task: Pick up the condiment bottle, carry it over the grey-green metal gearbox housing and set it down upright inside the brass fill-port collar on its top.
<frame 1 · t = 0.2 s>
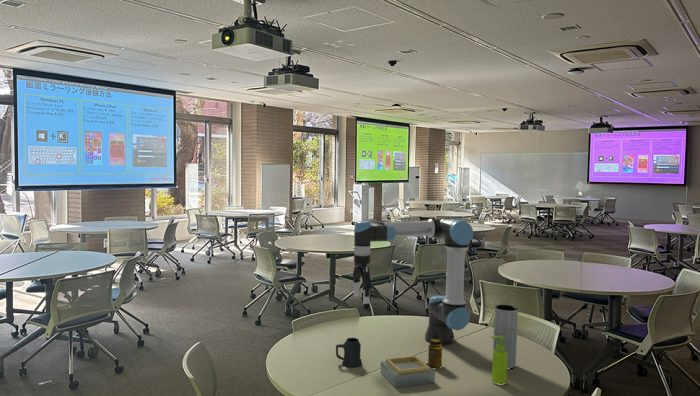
hand: (361, 299, 246), 28 cm above the table, fingers open, 13 cm apart
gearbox: (407, 377, 225), on the table
vase: (504, 365, 242), on the table
mug: (348, 364, 240), on the table
soap dispenser: (497, 383, 222), on the table
condiment: (433, 366, 239), on the table
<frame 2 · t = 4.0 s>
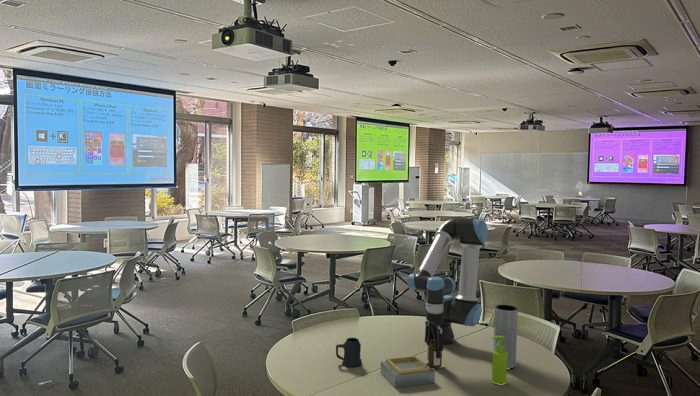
hand: (433, 361, 239), 2 cm above the table, fingers closed on condiment, 6 cm apart
condiment: (433, 366, 239), on the table, touching gripper
everything else where it was.
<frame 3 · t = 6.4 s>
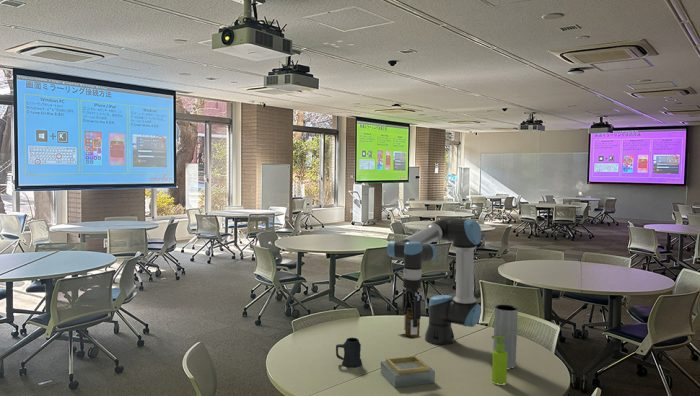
hand: (410, 331, 225), 20 cm above the table, fingers closed on condiment, 6 cm apart
condiment: (410, 336, 225), point 18 cm above the table, touching gripper
everything else where it was.
when the fingers open (8 cm above the table, at t = 8.9 s): condiment drops 1 cm, resting on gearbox.
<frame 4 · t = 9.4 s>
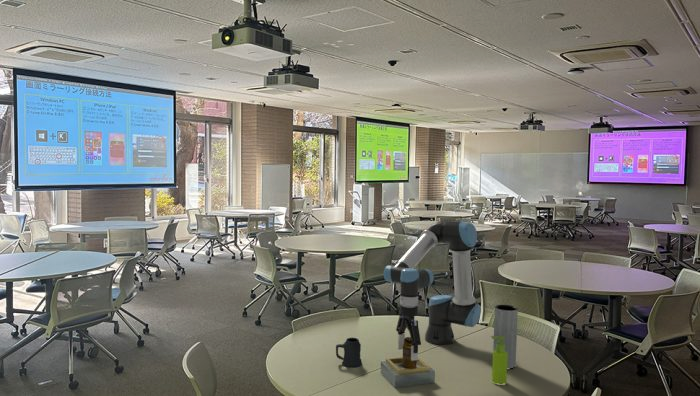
hand: (407, 354, 225), 10 cm above the table, fingers open, 13 cm apart
condiment: (407, 366, 225), point 5 cm above the table, touching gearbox
everything else where it was.
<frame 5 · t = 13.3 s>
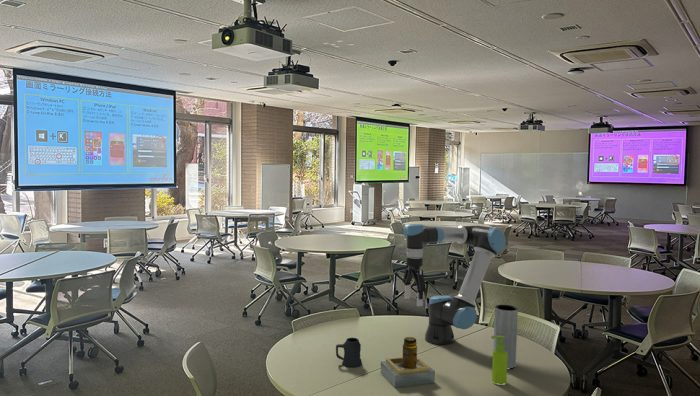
hand: (413, 302, 247), 27 cm above the table, fingers open, 13 cm apart
nothing on the table moved.
at the end: condiment inside the target area on the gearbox (0.1 cm from its centre), point 4.8 cm above the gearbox's base; condiment tilted 0°; the gripper is holding nothing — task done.
